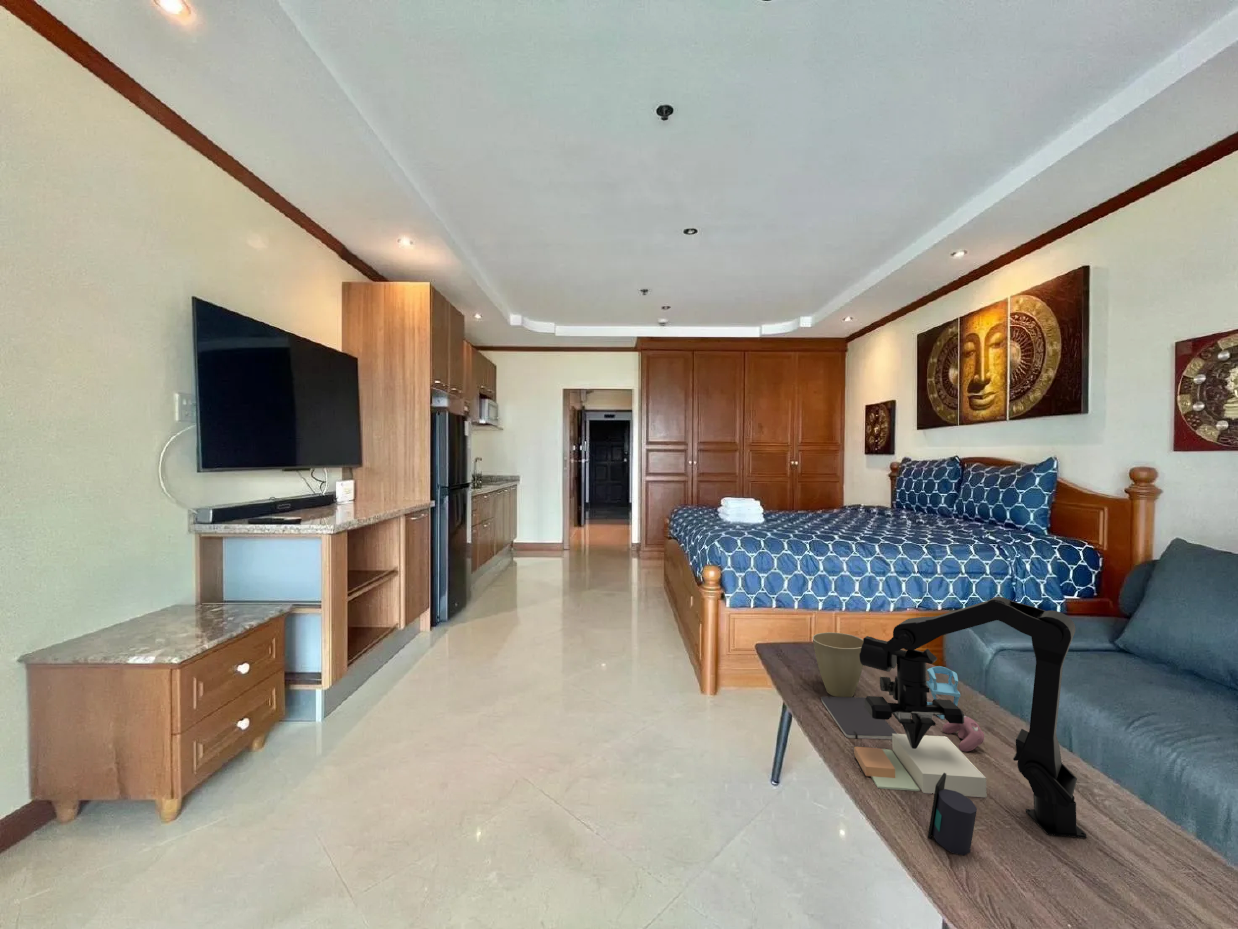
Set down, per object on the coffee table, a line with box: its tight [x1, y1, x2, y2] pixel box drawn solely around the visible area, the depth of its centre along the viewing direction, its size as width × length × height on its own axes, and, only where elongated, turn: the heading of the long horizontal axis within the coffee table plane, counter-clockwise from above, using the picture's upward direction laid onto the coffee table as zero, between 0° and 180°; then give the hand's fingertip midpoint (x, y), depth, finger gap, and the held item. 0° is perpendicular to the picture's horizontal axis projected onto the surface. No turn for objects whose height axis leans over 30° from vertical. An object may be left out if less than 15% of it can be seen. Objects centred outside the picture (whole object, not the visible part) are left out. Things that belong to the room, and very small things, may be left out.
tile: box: [853, 746, 895, 778], centre depth 112 cm, size 8×6×2 cm
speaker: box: [927, 773, 978, 856], centre depth 90 cm, size 8×6×10 cm
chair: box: [926, 665, 961, 720], centre depth 137 cm, size 8×8×12 cm
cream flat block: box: [891, 733, 988, 798], centre depth 110 cm, size 16×12×4 cm
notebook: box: [820, 696, 898, 740], centre depth 135 cm, size 13×2×21 cm
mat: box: [870, 748, 921, 792], centre depth 112 cm, size 15×8×1 cm, turn 172°
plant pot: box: [812, 632, 864, 697], centre depth 150 cm, size 15×15×16 cm
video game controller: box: [942, 715, 985, 753], centre depth 122 cm, size 10×5×7 cm, turn 170°
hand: (913, 747), depth 111 cm, fingers closed
